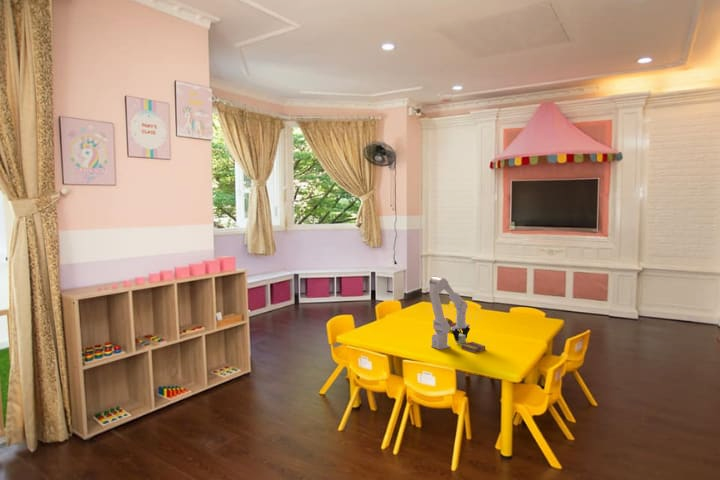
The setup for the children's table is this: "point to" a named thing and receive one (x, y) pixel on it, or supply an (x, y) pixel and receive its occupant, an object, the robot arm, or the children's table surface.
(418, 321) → the children's table surface
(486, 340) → the children's table surface
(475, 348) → the walnut plinth
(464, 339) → the sage block
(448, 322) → the lion figurine
